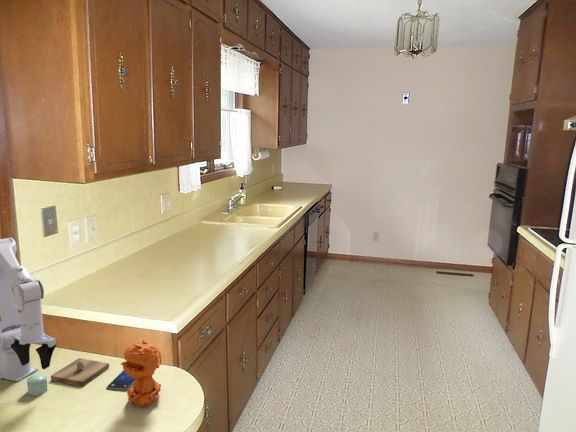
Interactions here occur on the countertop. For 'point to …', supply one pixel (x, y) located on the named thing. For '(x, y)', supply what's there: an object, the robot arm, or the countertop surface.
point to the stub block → (80, 372)
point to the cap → (37, 384)
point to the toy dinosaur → (142, 372)
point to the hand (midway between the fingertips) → (35, 365)
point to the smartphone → (121, 382)
